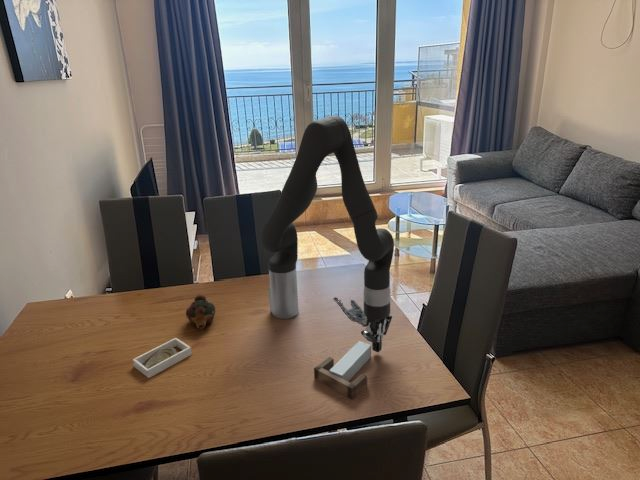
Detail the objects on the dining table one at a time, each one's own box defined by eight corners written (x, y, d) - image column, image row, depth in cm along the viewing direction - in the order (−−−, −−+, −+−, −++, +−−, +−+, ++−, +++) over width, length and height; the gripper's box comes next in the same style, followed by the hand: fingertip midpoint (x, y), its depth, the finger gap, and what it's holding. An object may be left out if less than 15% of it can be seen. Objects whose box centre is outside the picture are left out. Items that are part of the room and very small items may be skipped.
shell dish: (134, 366, 129) (132, 359, 128) (177, 344, 139) (175, 337, 138) (148, 378, 124) (147, 370, 123) (192, 354, 134) (190, 347, 133)
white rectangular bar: (329, 382, 120) (329, 370, 119) (359, 352, 132) (359, 340, 131) (342, 387, 118) (342, 375, 117) (370, 356, 130) (371, 345, 129)
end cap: (314, 378, 122) (314, 368, 120) (329, 367, 126) (329, 356, 125) (352, 399, 114) (352, 388, 112) (367, 386, 118) (367, 375, 117)
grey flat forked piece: (374, 325, 147) (374, 319, 146) (356, 329, 145) (355, 324, 144) (350, 298, 165) (350, 292, 164) (333, 301, 163) (333, 296, 162)
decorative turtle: (213, 308, 159) (212, 289, 156) (218, 332, 146) (217, 312, 143) (185, 312, 156) (183, 292, 153) (188, 337, 143) (186, 316, 140)
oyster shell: (156, 380, 130) (181, 352, 133) (155, 381, 127) (180, 353, 130) (141, 366, 130) (166, 339, 133) (139, 367, 126) (164, 339, 130)
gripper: (374, 312, 118) (374, 366, 124) (400, 293, 127) (399, 344, 133) (352, 304, 122) (353, 356, 129) (378, 286, 131) (378, 335, 138)
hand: (377, 350), depth 131 cm, fingers closed
